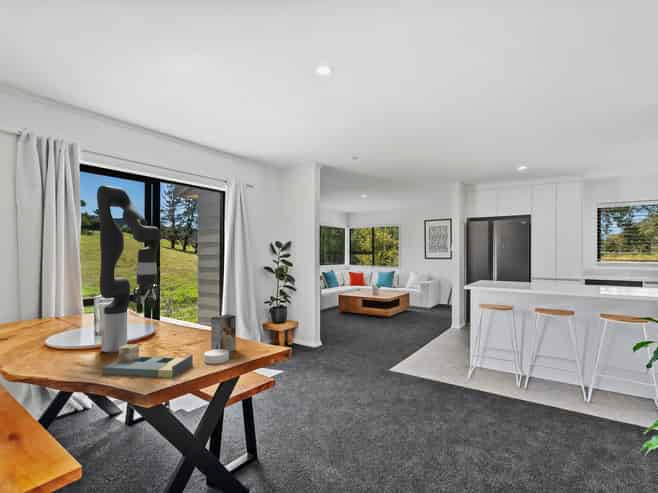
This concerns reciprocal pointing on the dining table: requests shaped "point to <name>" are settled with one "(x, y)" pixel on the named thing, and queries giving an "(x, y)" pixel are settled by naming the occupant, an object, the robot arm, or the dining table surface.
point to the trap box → (149, 366)
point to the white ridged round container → (216, 356)
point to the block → (128, 352)
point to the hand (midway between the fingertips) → (146, 310)
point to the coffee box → (223, 332)
